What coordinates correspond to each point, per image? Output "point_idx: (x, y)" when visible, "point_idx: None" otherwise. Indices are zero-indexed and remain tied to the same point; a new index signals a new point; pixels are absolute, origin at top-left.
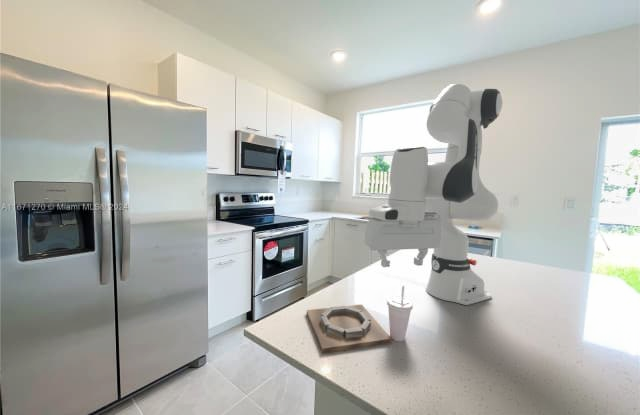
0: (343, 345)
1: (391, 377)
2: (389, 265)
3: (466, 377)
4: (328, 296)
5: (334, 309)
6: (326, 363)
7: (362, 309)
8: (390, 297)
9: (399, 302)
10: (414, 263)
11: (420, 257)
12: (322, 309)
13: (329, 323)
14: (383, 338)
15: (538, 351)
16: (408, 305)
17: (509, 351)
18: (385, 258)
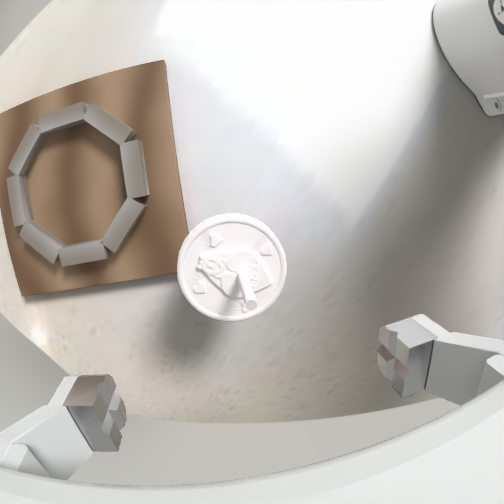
0: (61, 289)
1: (157, 369)
2: (122, 423)
3: (311, 371)
4: (81, 2)
5: (45, 131)
6: (37, 321)
7: (153, 94)
8: (203, 229)
9: (225, 285)
10: (381, 337)
11: (435, 383)
12: (28, 106)
13: (23, 218)
14: (169, 268)
15: (481, 297)
16: (257, 301)
17: (445, 299)
18: (73, 464)
